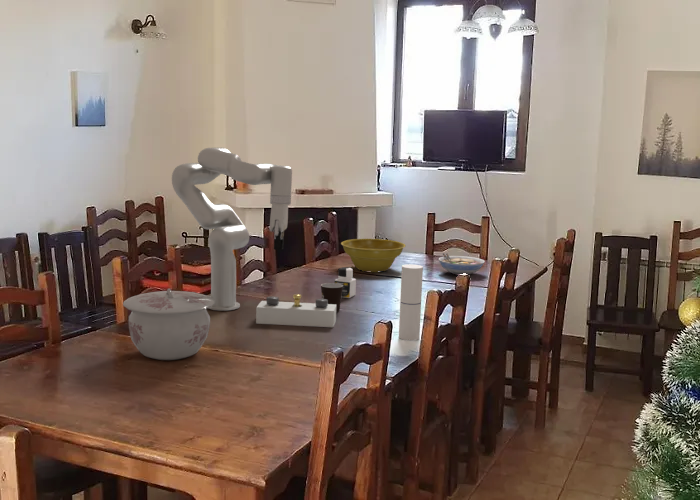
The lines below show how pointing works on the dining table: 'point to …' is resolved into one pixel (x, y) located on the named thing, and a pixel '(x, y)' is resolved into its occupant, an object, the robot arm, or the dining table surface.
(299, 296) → the brass dial
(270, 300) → the knob
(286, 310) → the mount
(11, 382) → the dining table surface
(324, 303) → the knob
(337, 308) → the coffee mug
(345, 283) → the medicine bottle
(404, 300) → the cylindrical container
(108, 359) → the dining table surface
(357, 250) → the planter bowl
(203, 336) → the chamber pot
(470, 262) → the ramen bowl
